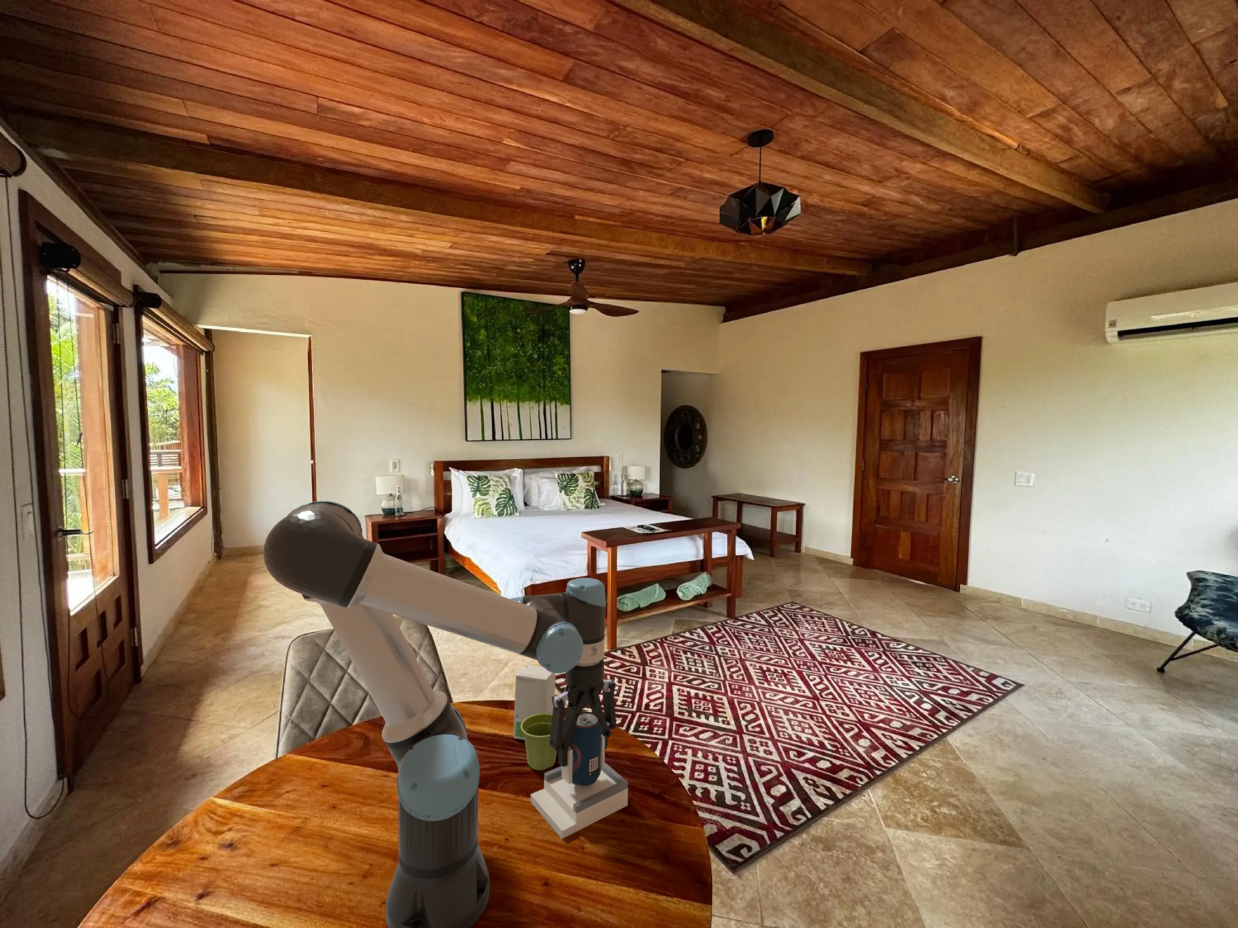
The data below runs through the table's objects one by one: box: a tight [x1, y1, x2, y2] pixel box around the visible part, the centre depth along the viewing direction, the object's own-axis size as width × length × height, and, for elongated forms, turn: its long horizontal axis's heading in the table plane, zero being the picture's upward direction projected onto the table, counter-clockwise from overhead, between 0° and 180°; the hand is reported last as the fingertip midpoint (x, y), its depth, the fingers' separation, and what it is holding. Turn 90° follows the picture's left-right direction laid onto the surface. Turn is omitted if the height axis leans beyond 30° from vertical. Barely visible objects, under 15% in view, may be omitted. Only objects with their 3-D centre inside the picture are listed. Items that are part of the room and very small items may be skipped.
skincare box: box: [513, 664, 556, 741], centre depth 128 cm, size 8×7×16 cm
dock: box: [530, 762, 629, 840], centre depth 104 cm, size 15×12×5 cm
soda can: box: [570, 710, 602, 787], centre depth 105 cm, size 7×7×12 cm
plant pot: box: [521, 713, 558, 771], centre depth 117 cm, size 9×9×9 cm
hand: (583, 772), depth 105 cm, fingers closed on soda can, 7 cm apart
